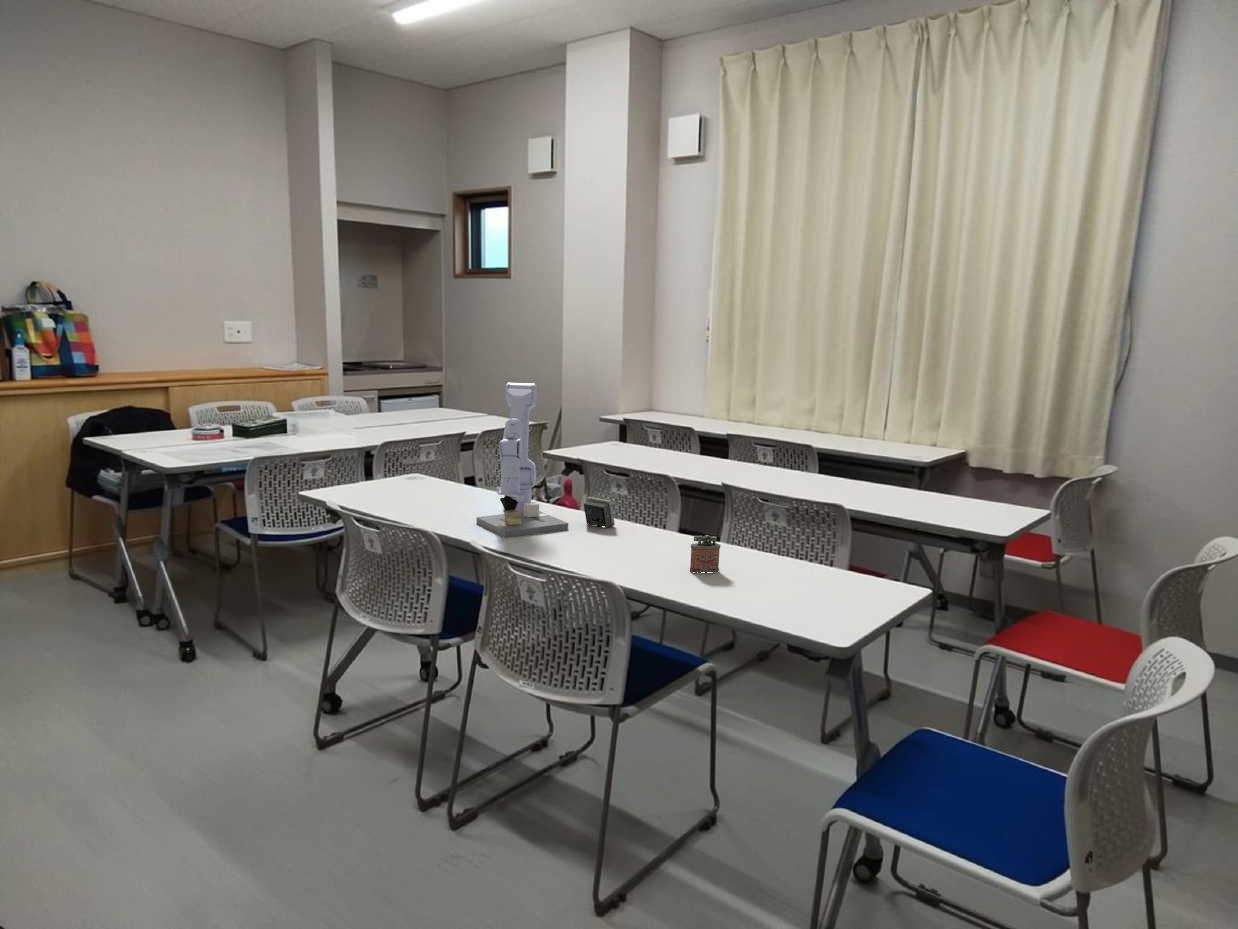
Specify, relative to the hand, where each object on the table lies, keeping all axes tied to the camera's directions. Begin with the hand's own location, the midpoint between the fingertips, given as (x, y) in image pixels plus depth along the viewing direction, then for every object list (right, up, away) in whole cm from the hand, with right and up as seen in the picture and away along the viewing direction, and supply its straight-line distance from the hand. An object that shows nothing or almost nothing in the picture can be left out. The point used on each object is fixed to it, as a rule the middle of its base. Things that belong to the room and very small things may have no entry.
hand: (509, 520), depth 258 cm
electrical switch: (+28, -3, +8) cm, 29 cm away
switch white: (+6, +1, +9) cm, 11 cm away
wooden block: (+1, -1, -2) cm, 2 cm away
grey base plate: (+3, -2, +4) cm, 6 cm away
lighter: (+57, -12, -36) cm, 69 cm away
